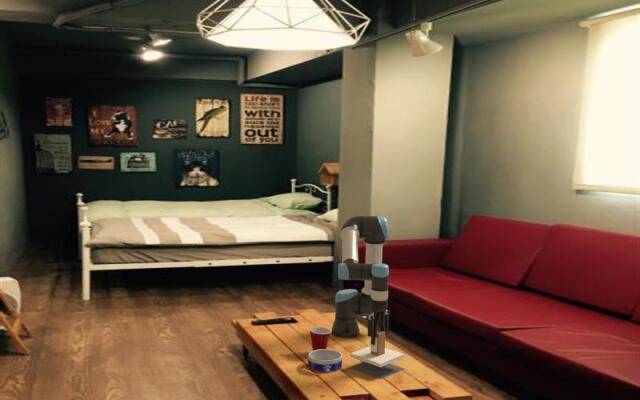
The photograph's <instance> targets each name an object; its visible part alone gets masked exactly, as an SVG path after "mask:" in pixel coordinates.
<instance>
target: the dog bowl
mask: <svg viewBox="0 0 640 400" xmlns="http://www.w3.org/2000/svg"><path fill="white" fill-rule="evenodd" d="M307 361H308V362H307V365H308V366H307V367H308V368H309V370H312V371H315V372H319V373H333V372H337V371H339V370H341V369H342V365H343V354H342V353H341V352H340V351H338V350H336V349H329V348H326V349H319V350H314V351H313V350H312V351H310V352H309V353H308V355H307Z"/></svg>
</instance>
